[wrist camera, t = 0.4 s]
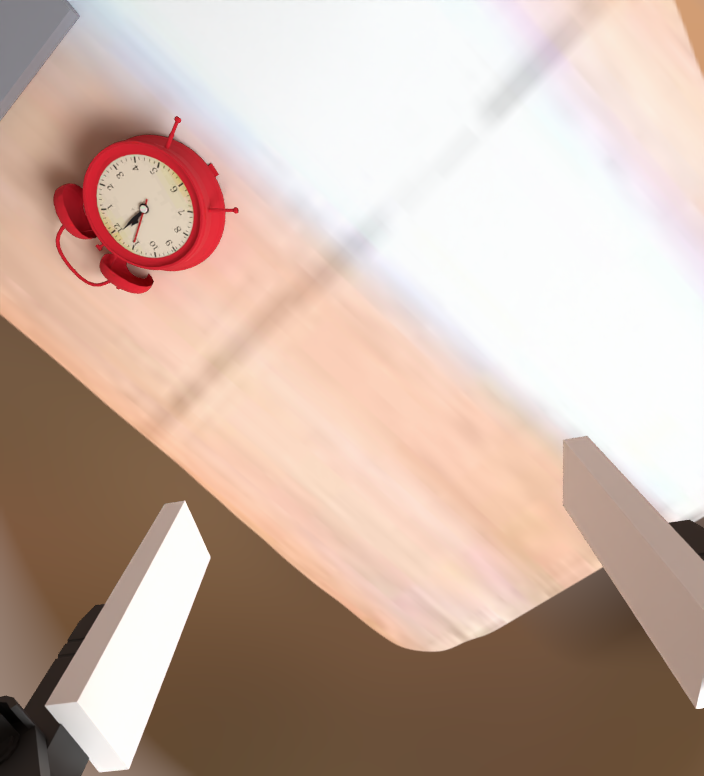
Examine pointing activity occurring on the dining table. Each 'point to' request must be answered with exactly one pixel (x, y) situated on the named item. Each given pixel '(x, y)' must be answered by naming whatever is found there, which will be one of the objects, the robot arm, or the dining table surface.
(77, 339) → the dining table surface
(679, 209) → the dining table surface
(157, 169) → the alarm clock
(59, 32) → the tuner board
